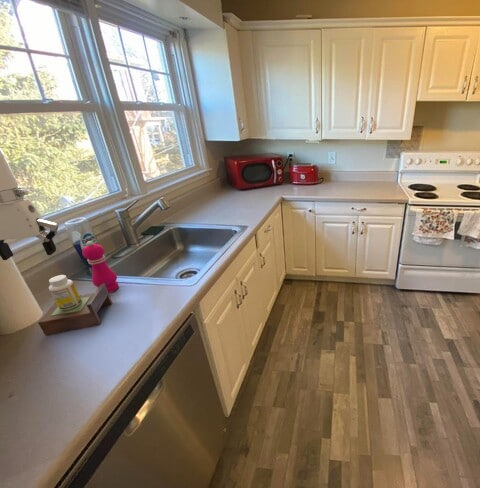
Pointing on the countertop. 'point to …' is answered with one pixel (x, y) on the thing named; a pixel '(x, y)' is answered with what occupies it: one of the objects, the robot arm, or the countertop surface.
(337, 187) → the countertop surface
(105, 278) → the pepper mill
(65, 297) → the supplement bottle
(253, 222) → the countertop surface
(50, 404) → the countertop surface
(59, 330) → the brown wooden box
